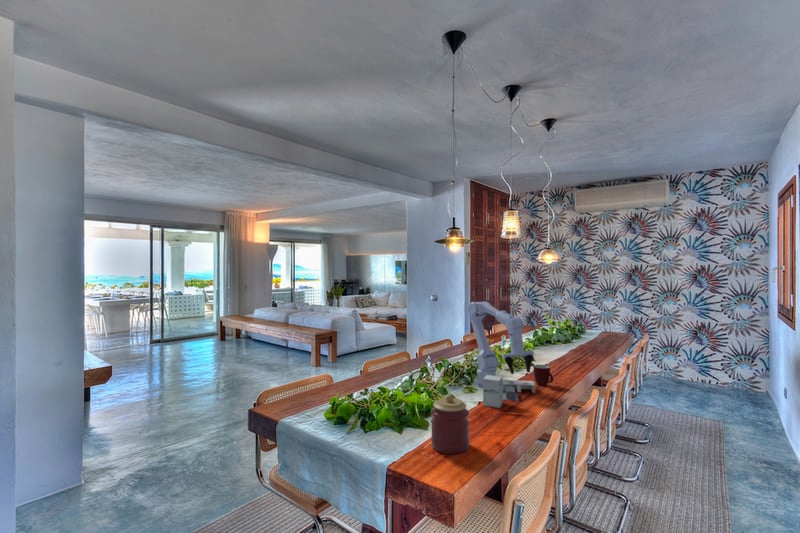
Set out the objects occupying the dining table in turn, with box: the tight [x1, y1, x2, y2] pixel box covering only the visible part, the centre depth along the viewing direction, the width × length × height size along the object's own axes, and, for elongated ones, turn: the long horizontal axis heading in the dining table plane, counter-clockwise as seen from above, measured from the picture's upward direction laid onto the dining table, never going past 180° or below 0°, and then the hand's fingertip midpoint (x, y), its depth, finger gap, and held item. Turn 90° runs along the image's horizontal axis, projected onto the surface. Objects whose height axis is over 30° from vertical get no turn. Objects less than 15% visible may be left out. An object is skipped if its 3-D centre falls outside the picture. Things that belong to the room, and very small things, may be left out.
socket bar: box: [503, 379, 536, 394], centre depth 190 cm, size 15×7×5 cm, turn 77°
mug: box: [532, 364, 554, 387], centre depth 198 cm, size 11×8×10 cm
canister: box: [430, 393, 470, 455], centre depth 132 cm, size 13×13×18 cm
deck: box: [503, 392, 520, 402], centre depth 181 cm, size 8×10×1 cm
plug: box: [504, 386, 516, 399], centre depth 181 cm, size 4×8×4 cm, turn 167°
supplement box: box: [482, 375, 504, 409], centre depth 171 cm, size 7×7×13 cm
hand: (520, 372), depth 180 cm, fingers open, 7 cm apart
